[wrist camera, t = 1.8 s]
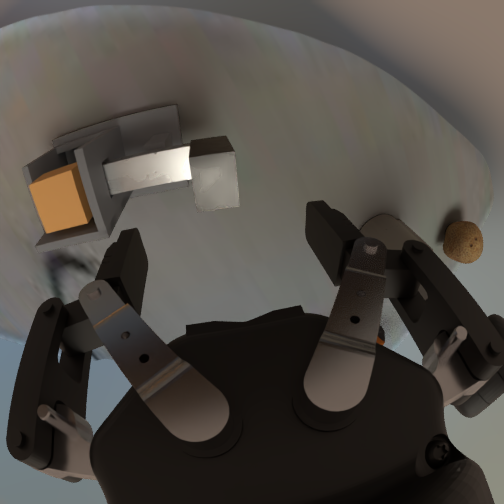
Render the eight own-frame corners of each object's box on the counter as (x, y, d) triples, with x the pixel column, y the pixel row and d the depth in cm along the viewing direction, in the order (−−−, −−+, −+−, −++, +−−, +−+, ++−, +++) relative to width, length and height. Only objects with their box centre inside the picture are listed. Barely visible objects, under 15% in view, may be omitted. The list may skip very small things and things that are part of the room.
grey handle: (224, 132, 23) (234, 151, 17) (228, 173, 25) (239, 206, 19) (51, 173, 21) (13, 205, 15) (62, 207, 23) (31, 247, 17)
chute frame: (177, 104, 26) (163, 114, 16) (188, 182, 32) (185, 234, 22) (57, 137, 25) (1, 170, 15) (76, 206, 30) (37, 262, 20)
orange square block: (84, 159, 20) (71, 170, 17) (97, 208, 23) (88, 223, 20) (43, 173, 19) (28, 185, 17) (58, 218, 22) (46, 233, 20)
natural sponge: (466, 214, 45) (496, 238, 37) (450, 247, 50) (477, 273, 42) (447, 207, 42) (481, 233, 34) (430, 244, 47) (459, 273, 39)
